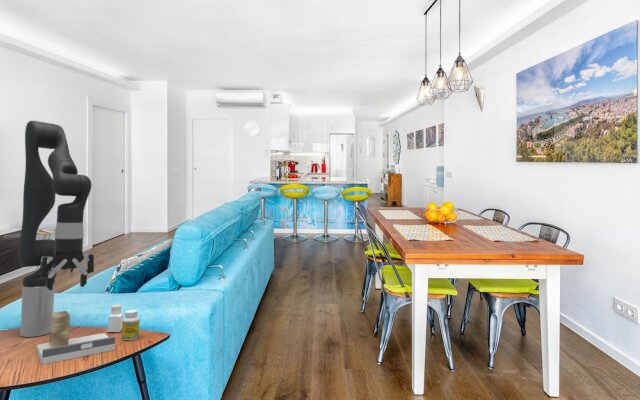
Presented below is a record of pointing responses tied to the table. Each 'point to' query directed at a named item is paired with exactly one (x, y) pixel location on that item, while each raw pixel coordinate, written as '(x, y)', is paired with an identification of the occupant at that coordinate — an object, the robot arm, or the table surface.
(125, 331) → the supplement bottle
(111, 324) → the pepper shaker
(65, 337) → the tea box
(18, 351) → the table surface
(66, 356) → the shelf
